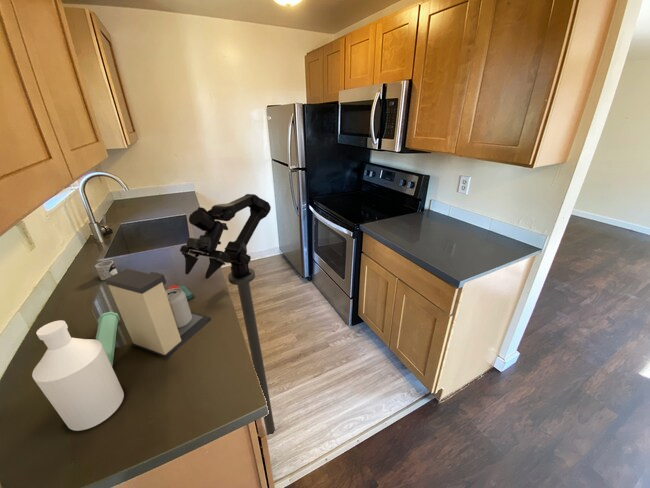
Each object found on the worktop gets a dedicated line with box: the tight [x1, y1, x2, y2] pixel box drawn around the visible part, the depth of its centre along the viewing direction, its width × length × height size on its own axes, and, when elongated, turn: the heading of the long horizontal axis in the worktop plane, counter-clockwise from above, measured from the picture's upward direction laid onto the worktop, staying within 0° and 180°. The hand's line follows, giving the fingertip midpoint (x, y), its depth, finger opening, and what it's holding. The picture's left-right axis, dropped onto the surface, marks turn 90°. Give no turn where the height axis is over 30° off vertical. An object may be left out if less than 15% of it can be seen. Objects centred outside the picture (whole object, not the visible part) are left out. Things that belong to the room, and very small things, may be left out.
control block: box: [165, 285, 194, 301], centre depth 108 cm, size 10×9×4 cm
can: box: [165, 288, 192, 328], centre depth 91 cm, size 8×8×12 cm
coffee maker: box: [103, 268, 212, 359], centre depth 86 cm, size 18×15×24 cm
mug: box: [94, 259, 119, 281], centre depth 127 cm, size 10×7×7 cm
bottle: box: [31, 319, 125, 432], centre depth 63 cm, size 12×12×25 cm
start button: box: [167, 284, 179, 290], centre depth 107 cm, size 4×4×2 cm
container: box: [95, 311, 121, 367], centre depth 85 cm, size 6×6×25 cm
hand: (196, 276), depth 97 cm, fingers open, 9 cm apart
